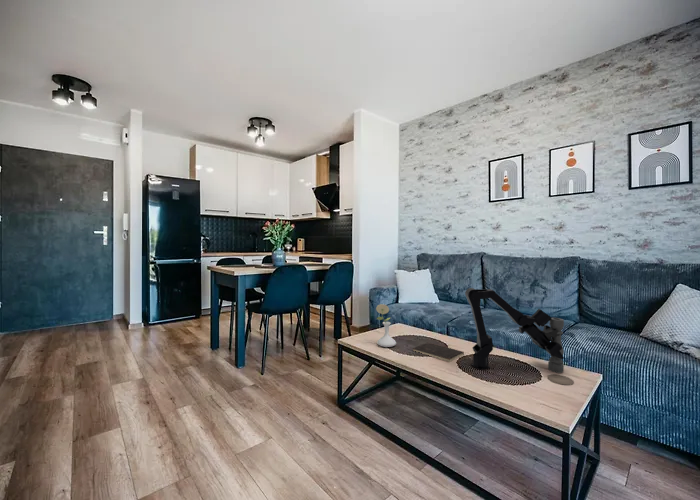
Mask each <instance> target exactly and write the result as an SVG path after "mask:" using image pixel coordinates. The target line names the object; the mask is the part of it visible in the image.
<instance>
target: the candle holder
mask: <svg viewBox="0 0 700 500" xmlns="http://www.w3.org/2000/svg"><path fill="white" fill-rule="evenodd" d="M551 318H552V319H551V320H550V321H549V327H551V329H557V330H558V333H557V334H560V335H559V336H555V337H553V338H552V340H551V341H550V342H551V343H552V342H557V343H559V344H560V345H561V346H562V347H563V343H562V335H563V334H564V331H563V329H564V326H565V325H564V324H565V320H564V319H563V318H559V317H551ZM560 352H561V354H562V355H563V356H564V347H563V348H562V349H561V350H560ZM548 360H549V361H548V364H547V366H548V367H547V369H548V371H550V372H553V373H555V374H557V373H558V374H561V373H564V366H565V365H564V361H563V359H560V358H558V357H555V356H552V355H550V357H549V358H548Z"/></svg>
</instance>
